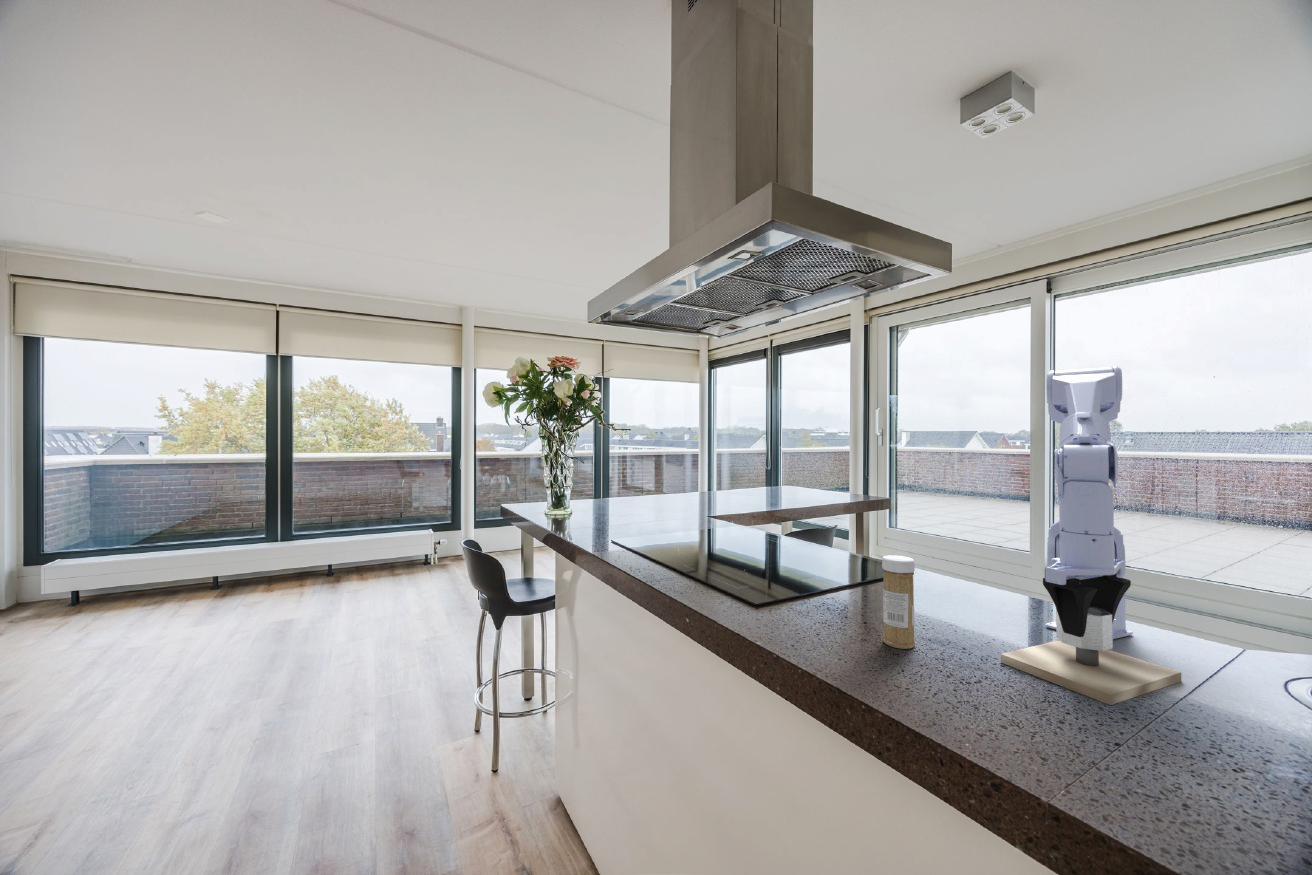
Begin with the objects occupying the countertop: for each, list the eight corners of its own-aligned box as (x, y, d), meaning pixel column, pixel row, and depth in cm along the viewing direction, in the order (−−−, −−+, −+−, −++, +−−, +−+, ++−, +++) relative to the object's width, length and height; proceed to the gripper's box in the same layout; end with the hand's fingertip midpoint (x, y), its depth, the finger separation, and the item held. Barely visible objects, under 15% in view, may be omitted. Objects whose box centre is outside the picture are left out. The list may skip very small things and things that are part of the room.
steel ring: (1073, 633, 74) (1072, 601, 74) (1119, 646, 69) (1118, 612, 69) (1049, 638, 72) (1048, 606, 72) (1095, 652, 67) (1094, 617, 67)
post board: (1069, 645, 79) (1068, 608, 79) (1181, 681, 67) (1180, 637, 67) (1000, 662, 73) (1000, 622, 73) (1110, 705, 61) (1110, 656, 61)
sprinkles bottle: (921, 645, 79) (920, 558, 79) (904, 652, 76) (903, 561, 77) (893, 636, 83) (892, 553, 83) (876, 642, 80) (875, 556, 80)
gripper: (1083, 524, 77) (1084, 615, 77) (1021, 530, 71) (1022, 628, 71) (1143, 531, 70) (1144, 631, 70) (1079, 539, 65) (1080, 647, 65)
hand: (1086, 631), depth 70 cm, fingers closed on steel ring, 5 cm apart
